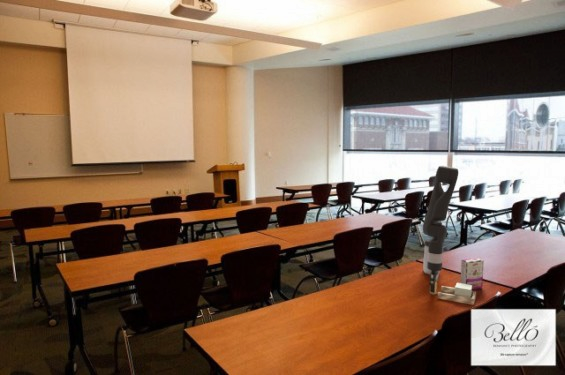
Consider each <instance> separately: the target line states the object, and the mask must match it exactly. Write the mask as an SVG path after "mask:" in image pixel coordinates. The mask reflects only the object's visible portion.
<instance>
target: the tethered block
mask: <svg viewBox="0 0 565 375" xmlns="http://www.w3.org/2000/svg"><path fill="white" fill-rule="evenodd" d="M431 283H433V282H431ZM454 288H455V294H454V295H458V296H463V297H469V298H472V291H473V290H472V285H469V284H463V283H461V282H456V284H455V286H454ZM437 289H438V282H435V292H434V293H433V292H430V291H429V294H430V295H438V292H437Z"/></svg>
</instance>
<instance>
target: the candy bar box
mask: <svg viewBox="0 0 565 375" xmlns="http://www.w3.org/2000/svg"><path fill="white" fill-rule="evenodd" d="M460 265H461V266H460V267H461V268H460V283H463V284H469V285H472V291H474V290H479V289H483V283H484V282H483V281H484V280H483V278H484V259H481V258H479V257H475V258H467V259H465V258H464V259H461V262H460Z"/></svg>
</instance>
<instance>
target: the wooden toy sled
mask: <svg viewBox="0 0 565 375" xmlns="http://www.w3.org/2000/svg"><path fill="white" fill-rule="evenodd" d="M440 289H441V290H440V292H439V291H438V292H437V293H438V294H437V299H440V300H445V301H450V302H456V303H461V304H465V305H466V304H467V305H471V306H472V305H473V306H475V302H476V298H477V291H476V290H472V297H471V298H469V297H463V296H458V295H455V287H451V286H446V285H441V288H440Z"/></svg>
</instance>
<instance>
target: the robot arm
mask: <svg viewBox="0 0 565 375" xmlns="http://www.w3.org/2000/svg"><path fill="white" fill-rule="evenodd" d="M435 172H436V173H435V178H434V184H433V188H432V193H431V196H430V199H429V203H428V209H427V212H426V216H425V218H424V221H423V224H422V232H423V234H424V235H427V236H428V237H431V238H428V239H426V240H425V241H424V256H423V260H422V261H423V264H422V265H423V266H422V271H423V273H424V274H427V275H429V280H428V281H429V283H428V286H429V293H430V292H433V293H434V292H435V282H437V283H438V281H439V278H440V277H439V276H440V272H441V271H442V270H443V259H444V258H443V249H444V248H443V245H444V242H445V239H446V237H447V233H448V229H447V227H446V226H445V225H444V224H443V222H444V221H446V219H447V215H448V211H449V206H450V203H451V200H452V197H453V194H454V191H455V188H456V185H457V181H458V178H459V169H458V168H456V167H452V166H445V165H440V166H438V167H437V169H436V171H435ZM442 184H445V185H448V187H447V189H446V191H445V190H444V188H443V186H442ZM431 282H433V283H431Z"/></svg>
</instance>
